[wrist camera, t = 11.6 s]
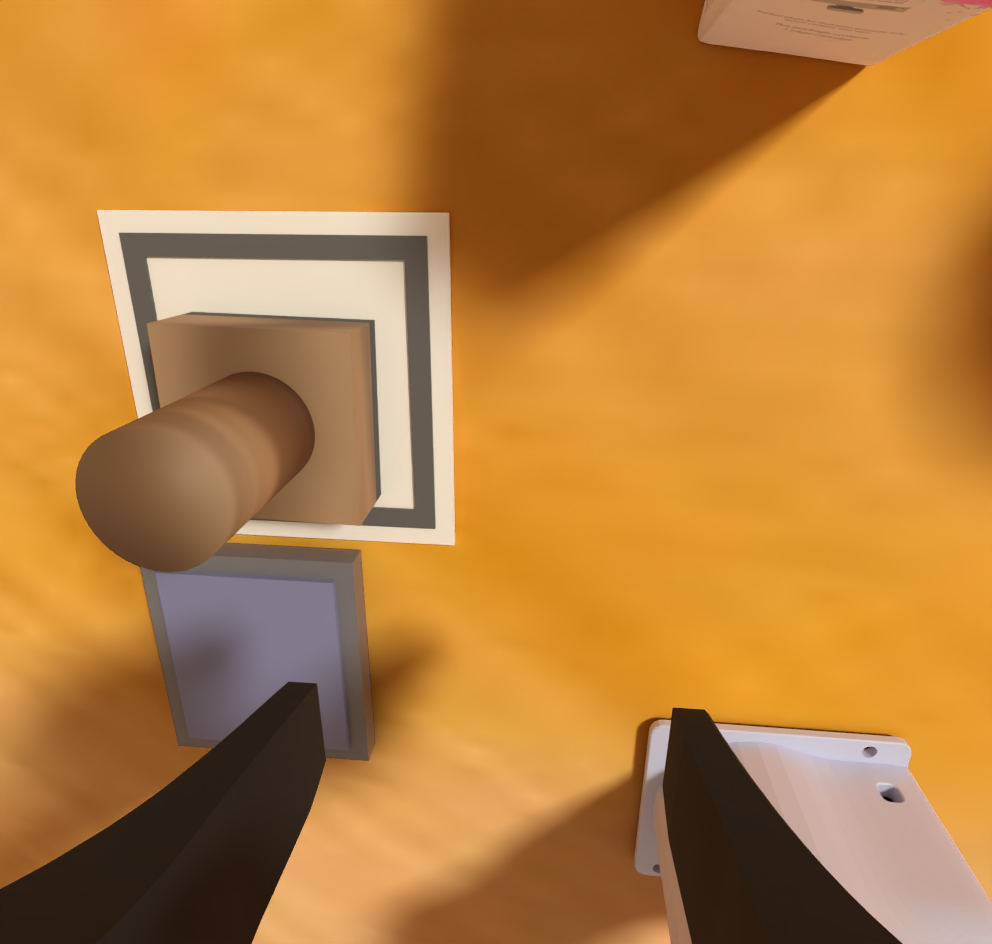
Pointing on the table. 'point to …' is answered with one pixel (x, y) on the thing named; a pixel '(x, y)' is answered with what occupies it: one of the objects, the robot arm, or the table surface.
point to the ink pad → (264, 640)
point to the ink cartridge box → (832, 25)
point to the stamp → (238, 436)
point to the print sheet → (314, 293)
